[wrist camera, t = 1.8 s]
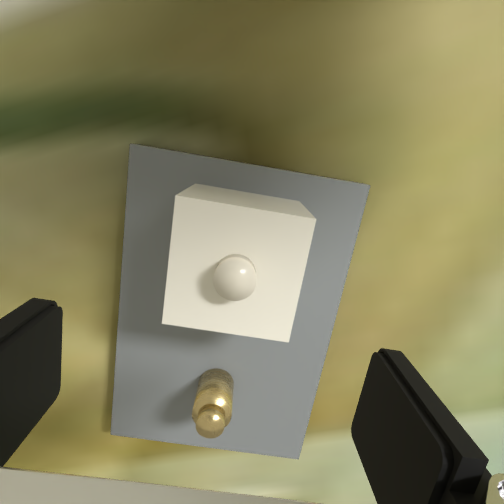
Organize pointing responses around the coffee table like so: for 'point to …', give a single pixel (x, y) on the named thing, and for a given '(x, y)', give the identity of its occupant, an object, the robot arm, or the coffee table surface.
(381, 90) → the coffee table surface
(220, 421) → the post
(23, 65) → the coffee table surface
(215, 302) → the white knobbed cube
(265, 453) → the board
